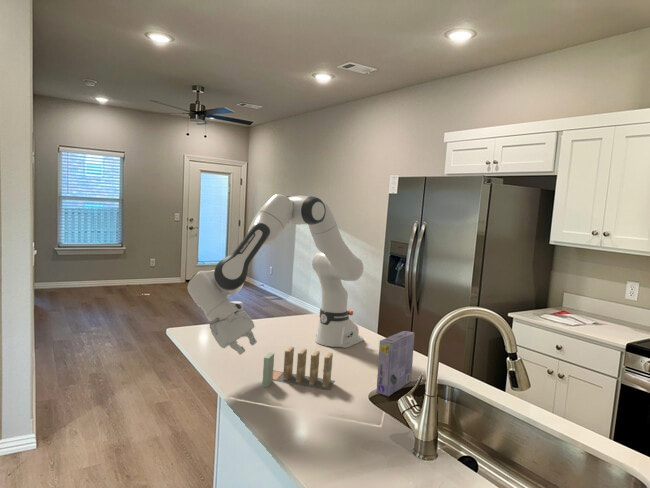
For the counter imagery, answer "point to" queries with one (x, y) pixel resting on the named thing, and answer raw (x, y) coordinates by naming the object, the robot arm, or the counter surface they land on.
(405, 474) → the counter surface
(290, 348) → the maple domino
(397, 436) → the counter surface
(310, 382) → the maple domino
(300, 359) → the maple domino
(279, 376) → the charcoal mat
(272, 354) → the sage domino
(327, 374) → the maple domino
